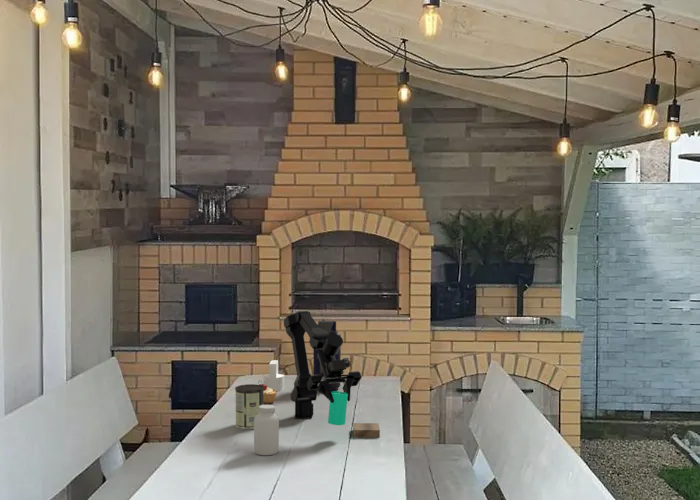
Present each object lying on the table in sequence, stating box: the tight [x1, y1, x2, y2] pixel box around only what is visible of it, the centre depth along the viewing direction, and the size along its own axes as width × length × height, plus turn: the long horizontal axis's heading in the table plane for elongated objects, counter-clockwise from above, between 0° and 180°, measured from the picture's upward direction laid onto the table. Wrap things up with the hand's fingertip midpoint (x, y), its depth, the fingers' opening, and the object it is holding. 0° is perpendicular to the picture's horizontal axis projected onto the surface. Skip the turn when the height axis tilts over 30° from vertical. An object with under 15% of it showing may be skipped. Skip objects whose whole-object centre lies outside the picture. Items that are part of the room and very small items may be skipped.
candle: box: [327, 388, 348, 426], centre depth 274 cm, size 6×6×12 cm
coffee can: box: [234, 383, 264, 430], centre depth 290 cm, size 10×10×14 cm
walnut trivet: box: [352, 422, 381, 438], centre depth 281 cm, size 9×9×2 cm
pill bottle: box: [253, 404, 280, 456], centre depth 258 cm, size 8×8×15 cm
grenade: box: [312, 320, 342, 392], centre depth 350 cm, size 14×12×30 cm
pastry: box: [257, 379, 278, 405], centre depth 325 cm, size 12×12×9 cm
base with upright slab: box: [262, 359, 285, 392], centre depth 349 cm, size 9×9×12 cm
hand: (341, 401), depth 273 cm, fingers closed on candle, 6 cm apart
